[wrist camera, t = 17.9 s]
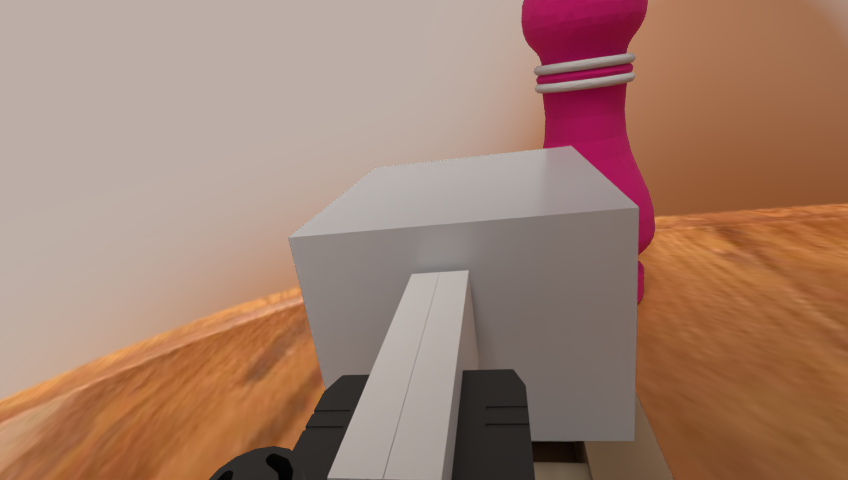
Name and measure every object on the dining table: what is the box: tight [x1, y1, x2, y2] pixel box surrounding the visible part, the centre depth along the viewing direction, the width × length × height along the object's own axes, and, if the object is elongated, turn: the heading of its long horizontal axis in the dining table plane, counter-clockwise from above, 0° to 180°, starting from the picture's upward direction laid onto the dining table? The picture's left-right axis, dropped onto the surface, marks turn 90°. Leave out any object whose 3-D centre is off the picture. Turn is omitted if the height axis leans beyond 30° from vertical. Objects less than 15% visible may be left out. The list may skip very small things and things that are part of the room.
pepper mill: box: [522, 0, 655, 303], centre depth 25 cm, size 7×7×20 cm
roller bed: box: [531, 391, 674, 480], centre depth 17 cm, size 10×19×3 cm, turn 171°
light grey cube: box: [288, 146, 639, 441], centre depth 17 cm, size 9×10×7 cm
